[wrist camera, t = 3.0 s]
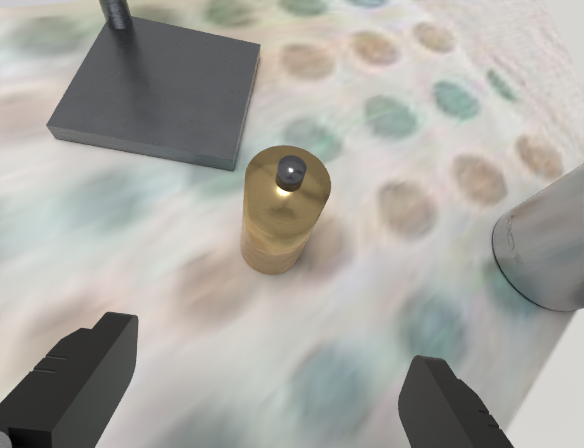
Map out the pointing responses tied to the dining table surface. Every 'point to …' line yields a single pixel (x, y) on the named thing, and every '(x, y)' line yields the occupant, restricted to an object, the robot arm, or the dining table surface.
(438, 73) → the dining table surface
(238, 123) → the stand
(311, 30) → the dining table surface
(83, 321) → the dining table surface
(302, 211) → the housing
